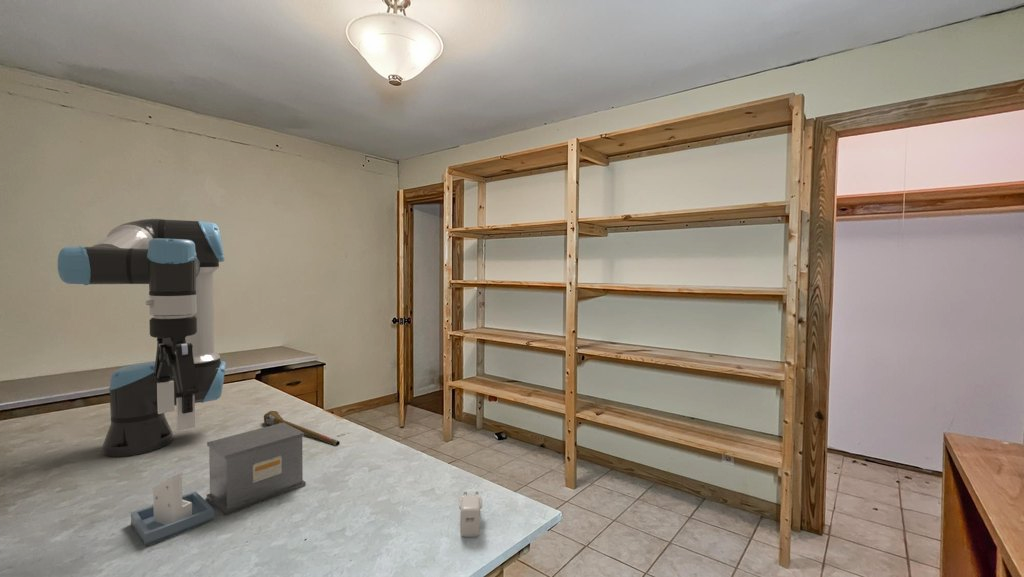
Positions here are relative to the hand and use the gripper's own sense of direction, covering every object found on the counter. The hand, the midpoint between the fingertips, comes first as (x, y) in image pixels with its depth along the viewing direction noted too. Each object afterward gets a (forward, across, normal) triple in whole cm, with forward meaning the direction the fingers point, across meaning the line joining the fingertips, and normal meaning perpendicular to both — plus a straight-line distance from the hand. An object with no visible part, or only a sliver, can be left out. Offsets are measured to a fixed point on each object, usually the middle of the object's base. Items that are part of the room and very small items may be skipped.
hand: (175, 420), depth 89 cm
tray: (+21, +1, -1) cm, 21 cm away
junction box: (+21, +1, +15) cm, 26 cm away
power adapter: (+21, +46, +38) cm, 64 cm away
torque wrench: (+22, -27, +38) cm, 51 cm away
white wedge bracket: (+20, +1, -1) cm, 20 cm away
